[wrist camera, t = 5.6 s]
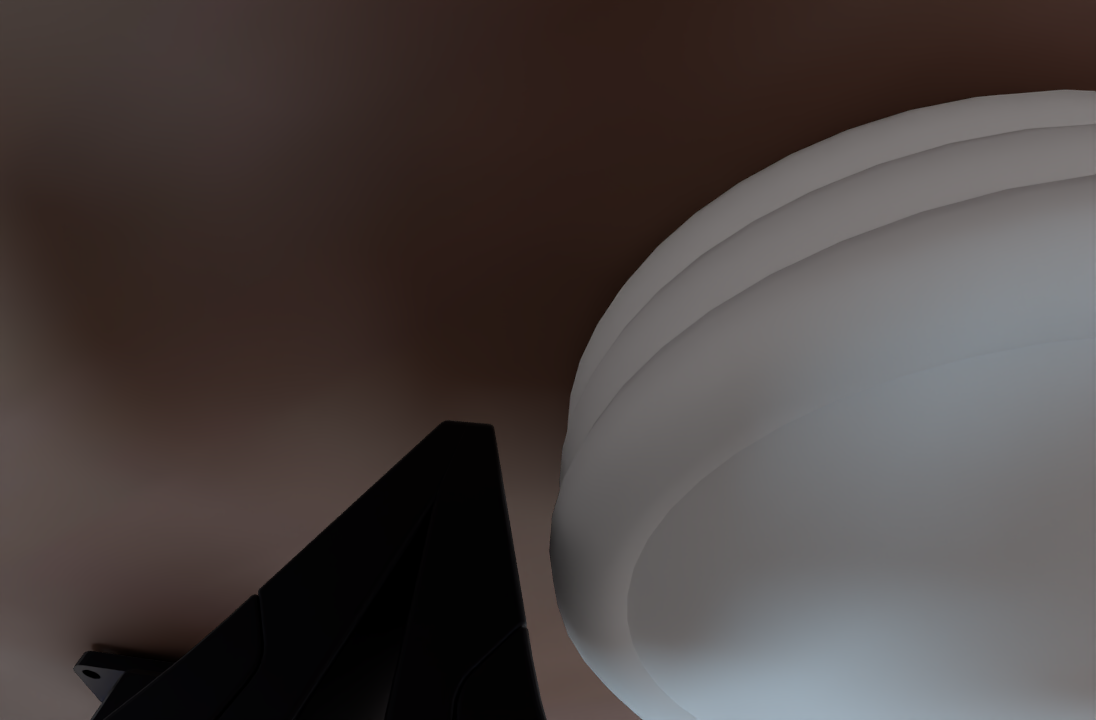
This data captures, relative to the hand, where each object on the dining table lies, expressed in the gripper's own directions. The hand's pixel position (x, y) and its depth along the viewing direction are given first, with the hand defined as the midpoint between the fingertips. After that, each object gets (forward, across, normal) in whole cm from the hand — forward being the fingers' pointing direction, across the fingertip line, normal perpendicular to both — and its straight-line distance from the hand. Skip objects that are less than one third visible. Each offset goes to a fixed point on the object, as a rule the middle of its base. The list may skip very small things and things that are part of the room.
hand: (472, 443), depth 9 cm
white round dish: (+2, -6, 0) cm, 7 cm away
